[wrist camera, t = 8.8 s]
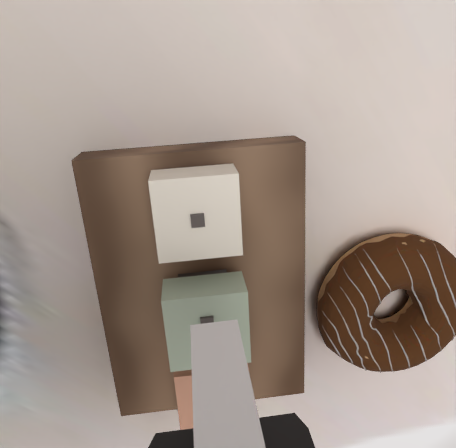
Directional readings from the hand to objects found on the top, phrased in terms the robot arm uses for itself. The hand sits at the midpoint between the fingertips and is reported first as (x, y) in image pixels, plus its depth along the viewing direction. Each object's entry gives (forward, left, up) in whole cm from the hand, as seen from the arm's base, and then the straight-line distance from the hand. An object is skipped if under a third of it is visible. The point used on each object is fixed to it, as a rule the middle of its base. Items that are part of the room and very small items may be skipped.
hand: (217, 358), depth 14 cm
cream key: (0, +2, -12) cm, 12 cm away
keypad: (0, -4, -15) cm, 15 cm away
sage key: (0, -4, -10) cm, 11 cm away
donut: (+13, -7, -15) cm, 21 cm away
